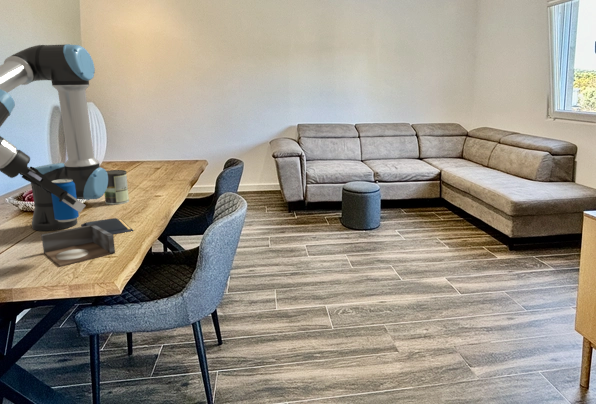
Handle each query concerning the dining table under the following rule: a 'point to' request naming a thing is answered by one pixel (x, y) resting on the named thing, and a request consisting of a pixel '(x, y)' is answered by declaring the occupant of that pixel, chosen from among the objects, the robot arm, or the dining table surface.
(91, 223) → the dark grey flat rectangle
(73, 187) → the beverage can
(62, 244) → the corner tray
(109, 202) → the coffee can
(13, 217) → the dining table surface
